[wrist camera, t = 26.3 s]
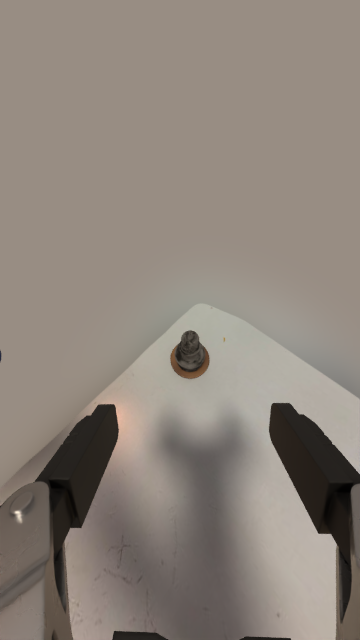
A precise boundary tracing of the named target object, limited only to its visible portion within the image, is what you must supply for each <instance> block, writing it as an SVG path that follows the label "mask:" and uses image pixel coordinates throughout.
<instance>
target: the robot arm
mask: <svg viewBox="0 0 360 640" xmlns="http://www.w3.org/2000/svg"><path fill="white" fill-rule="evenodd" d="M118 433H119V429H118V421H117V415H116V408H115V405H114V404H103V405H98V406H97V407H96V409H95V410H94V412H93V413H92V415H91V416H86V417H85V418H83V419H82V420H81V421H80V422H78V423H77V424H76V426H75V427H74V428H73V430H72V431H71V432H70V435H69V436H68V437H67V438H66V439H65V441H64V442H63V444H62V445H61V446H60V448H59V449H58V450H57V452H56V453H55V454H54V456H53V457H52V459H51V460H50V461H49V463H48V464H47V465H46V467H45V468H44V470H43V471H42V472H41V474H40V475H39V476H38V478H37V479H36V480H35V482H33V483H30V484H28V485H25V486H24V487H22V488H20V489H19V490H17V491H16V492H15V493H13V494H12V495H11V496H10V497H9V498H8V499H7V500H6V501H5V502H4V503H3V504H2V505H1V506H0V640H73V636H72V631H71V624H70V614H69V599H68V585H67V570H66V555H65V543H64V541H65V538H66V536H67V534H68V532H69V530H70V528H81V527H82V525H83V523H84V520H85V518H86V515H87V513H88V510H89V508H90V506H91V503H92V501H93V498H94V496H95V493H96V491H97V489H98V486H99V484H100V481H101V479H102V477H103V474H104V472H105V469H106V467H107V464H108V462H109V460H110V457H111V455H112V452H113V450H114V447H115V445H116V442H117V439H118ZM269 433H270V438H271V441H272V443H273V445H274V447H275V449H276V451H277V453H278V455H279V457H280V459H281V461H282V463H283V465H284V467H285V469H286V471H287V473H288V475H289V477H290V479H291V481H292V483H293V485H294V486H295V488H296V490H297V492H298V494H299V496H300V498H301V500H302V502H303V504H304V506H305V508H306V510H307V512H308V514H309V516H310V518H311V520H312V522H313V524H314V526H315V528H316V530H317V532H318V534H331V535H332V536H333V538H334V540H335V542H336V543H337V547H336V640H360V474H359V473H358V472H357V471H356V470H355V468H354V467H353V466H352V465H351V464H350V463H349V461H348V460H347V459H346V458H345V457H344V456H343V455H342V453H341V452H340V451H339V450H338V449H337V448H336V446H335V445H333V444H332V442H331V441H330V440H329V438H328V437H327V436H325V435H324V433H323V431H322V430H321V429H320V428H319V427H318V426H317V424H316V423H314V422H313V421H312V420H310V419H309V418H308V417H306V416H305V415H299V414H298V413H297V411H296V410H295V409H294V408H293V406H292V405H291V404H290V403H273V404H272V406H271V414H270V424H269ZM112 640H168V639H166V638H164V637H163V636H161V635H159V634H157V633H148V632H124V631H114V634H113V639H112ZM240 640H291V638H271V637H247V636H246V637H244V638H242V639H240Z"/></svg>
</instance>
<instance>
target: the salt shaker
mask: <svg viewBox="0 0 360 640" xmlns="http://www.w3.org/2000/svg"><path fill="white" fill-rule="evenodd" d="M174 355H175V359H176V361H177V363H178V365H179V367H180V368H181V369H182V370H184V371H186V372H194V371H196V370H198V369H199V368H200V367H201V365H202V363H203V361H204V359H205V349H204V347H203V346H202V344H201V343H200V342H199V336H198V334H197V333H196V332H194V331H186V332H185V333H184V334H183V335H182V338H181V342H180V343H179V344H178V345H177V347H176V349H175V354H174Z"/></svg>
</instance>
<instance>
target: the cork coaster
mask: <svg viewBox="0 0 360 640" xmlns="http://www.w3.org/2000/svg"><path fill="white" fill-rule="evenodd" d="M202 346H203V345H202ZM176 347H177V346H176ZM176 347H175V348H174V349H173V351H172V353H171V365H172V368H173V369H174V371H175V372H176V373H177V374H178V375H180V376H181V377H184V378H188V379H192V378H197V377H199V376H201V375H202V374H203V373H204V372H205V371H206V370H207V368H208V365H209V355H208V352H207V350H206V349H205V347H204V346H203V347H204V349H205V359H204V361H203V363H202V365H201V367H200V368H199V369H198V370H196V371H194V372H186V371H184V370H182V369H181V368H180V367H179V365H178V363H177V361H176V359H175V355H174V354H175V349H176Z"/></svg>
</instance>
